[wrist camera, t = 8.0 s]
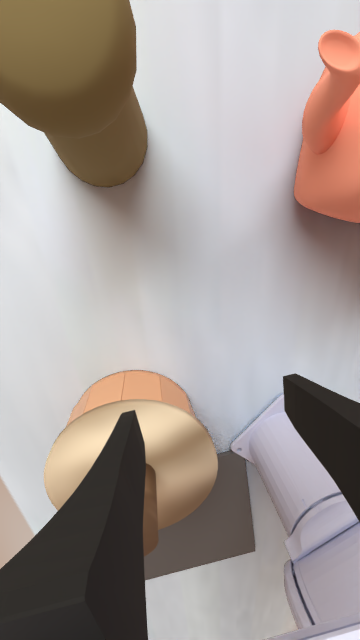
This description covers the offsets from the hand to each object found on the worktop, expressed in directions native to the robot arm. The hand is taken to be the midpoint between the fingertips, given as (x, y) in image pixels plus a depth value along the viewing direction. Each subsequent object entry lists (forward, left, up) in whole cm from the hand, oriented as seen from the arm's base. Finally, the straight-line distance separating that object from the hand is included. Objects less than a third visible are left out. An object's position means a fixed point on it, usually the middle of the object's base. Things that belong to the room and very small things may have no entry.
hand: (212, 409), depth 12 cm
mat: (-15, +18, -10) cm, 26 cm away
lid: (-3, +10, -6) cm, 12 cm away
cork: (+13, -7, -11) cm, 18 cm away
